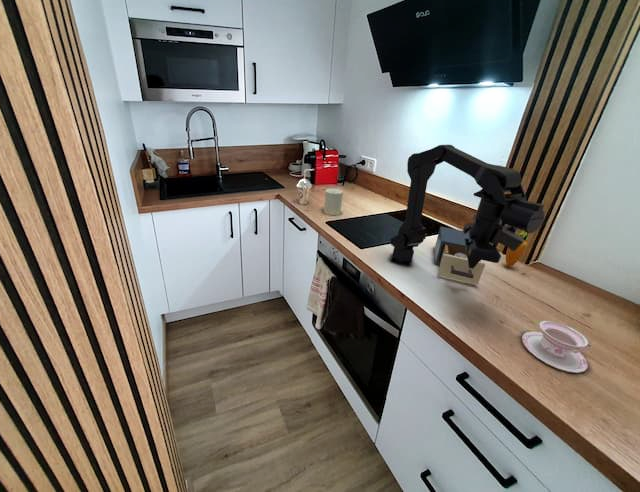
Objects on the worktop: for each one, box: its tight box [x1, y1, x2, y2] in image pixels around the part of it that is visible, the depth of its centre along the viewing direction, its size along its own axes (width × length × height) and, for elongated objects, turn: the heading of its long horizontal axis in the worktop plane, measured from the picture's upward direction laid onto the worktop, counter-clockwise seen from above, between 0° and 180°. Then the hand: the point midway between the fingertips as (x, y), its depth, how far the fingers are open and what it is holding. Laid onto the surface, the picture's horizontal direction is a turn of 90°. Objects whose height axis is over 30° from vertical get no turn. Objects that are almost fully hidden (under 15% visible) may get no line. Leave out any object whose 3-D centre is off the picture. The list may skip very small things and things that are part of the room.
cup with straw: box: [296, 168, 315, 205], centre depth 158 cm, size 8×9×20 cm
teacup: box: [521, 320, 592, 374], centre depth 68 cm, size 12×12×6 cm
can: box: [322, 187, 344, 216], centre depth 148 cm, size 9×9×12 cm
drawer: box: [437, 244, 486, 285], centre depth 96 cm, size 17×12×8 cm
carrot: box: [505, 230, 528, 268], centre depth 101 cm, size 5×5×15 cm
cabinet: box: [434, 226, 469, 266], centre depth 106 cm, size 14×13×10 cm
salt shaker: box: [455, 253, 467, 258], centre depth 97 cm, size 4×4×6 cm
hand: (470, 267), depth 81 cm, fingers closed
